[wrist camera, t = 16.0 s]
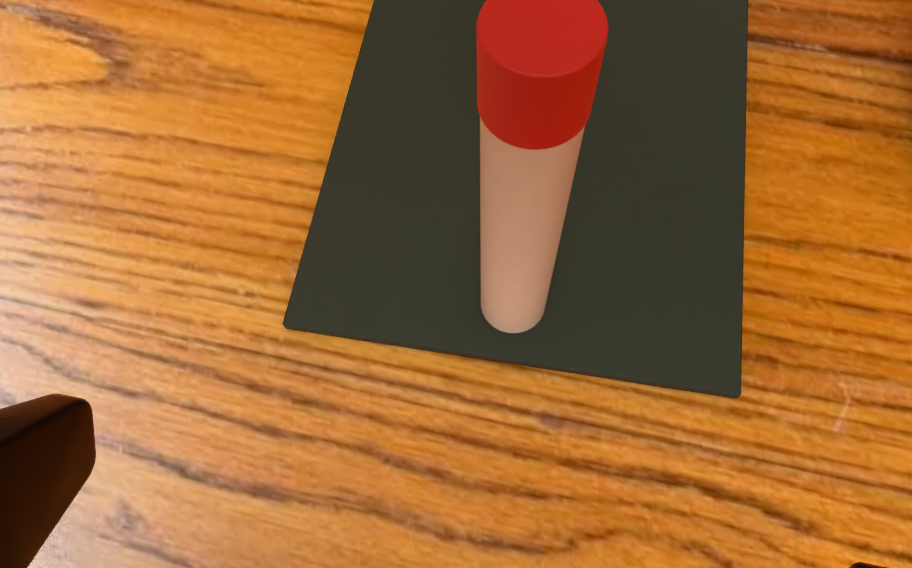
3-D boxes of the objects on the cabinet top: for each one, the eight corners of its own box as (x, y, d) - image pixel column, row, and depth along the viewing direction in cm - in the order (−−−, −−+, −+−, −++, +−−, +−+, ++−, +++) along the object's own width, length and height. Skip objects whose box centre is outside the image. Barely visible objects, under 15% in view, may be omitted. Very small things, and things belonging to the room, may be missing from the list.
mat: (736, 398, 21) (741, 395, 21) (285, 328, 23) (281, 324, 22) (749, -207, 32) (752, -216, 32) (441, -230, 34) (441, -239, 33)
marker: (553, 328, 22) (624, 65, 11) (486, 341, 22) (490, 87, 11) (538, 267, 23) (590, -35, 12) (473, 279, 23) (465, -15, 12)
